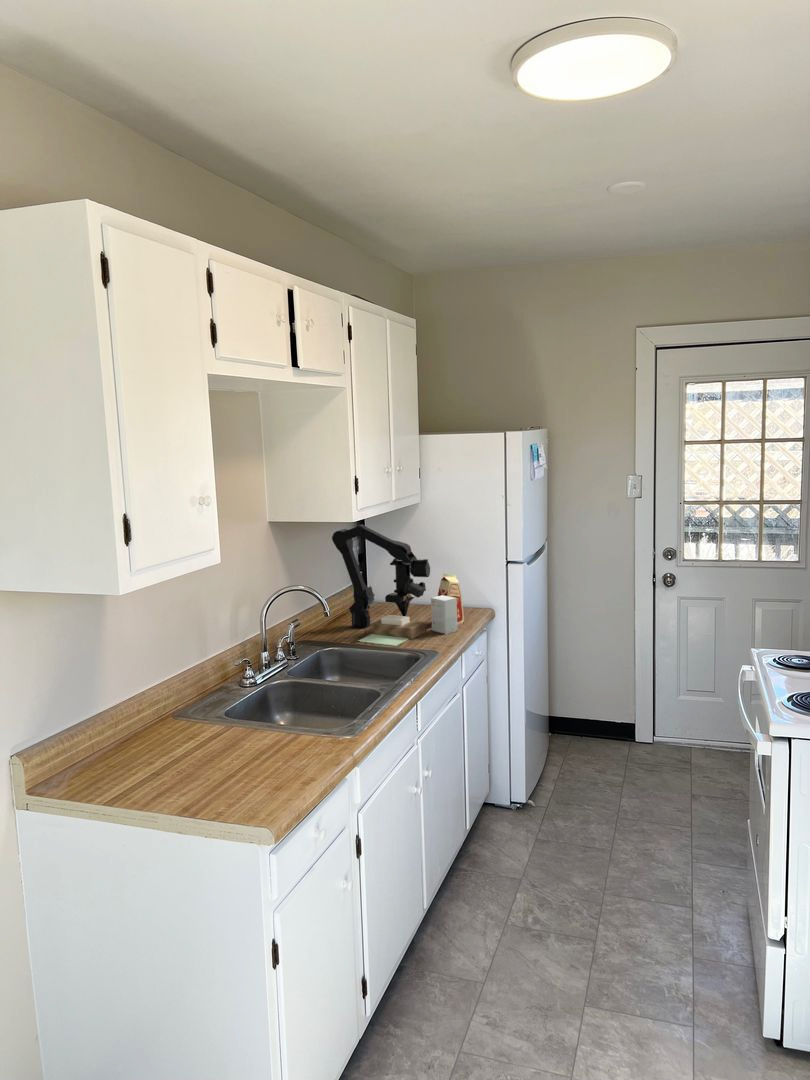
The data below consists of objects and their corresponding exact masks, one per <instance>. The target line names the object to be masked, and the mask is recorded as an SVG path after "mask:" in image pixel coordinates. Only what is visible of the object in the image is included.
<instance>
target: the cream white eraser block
mask: <svg viewBox="0 0 810 1080" xmlns="http://www.w3.org/2000/svg"><path fill="white" fill-rule="evenodd" d="M380 619H381V623H382V624H391V625H401V626H402V625H404V624H406V623H409V622H410V621H411V619H410V616H407V615H406V616H402V615H397V614H396V615H394V614H388V615H385V616H383V617H381V618H380Z"/></svg>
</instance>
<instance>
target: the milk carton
mask: <svg viewBox="0 0 810 1080" xmlns="http://www.w3.org/2000/svg"><path fill="white" fill-rule="evenodd" d="M441 595H444V596H449V597H453V598H457V625H459V624H463V622H464V623H465V617H464V616H465V615H464V614H465V613H464V605H463V598H462V597H463V596H462V591H461V585H460V582H459V580H458V579H457V574H447V573H443V577H442V578H441V580H440V583H439V588H438V592H437V596H441Z"/></svg>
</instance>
